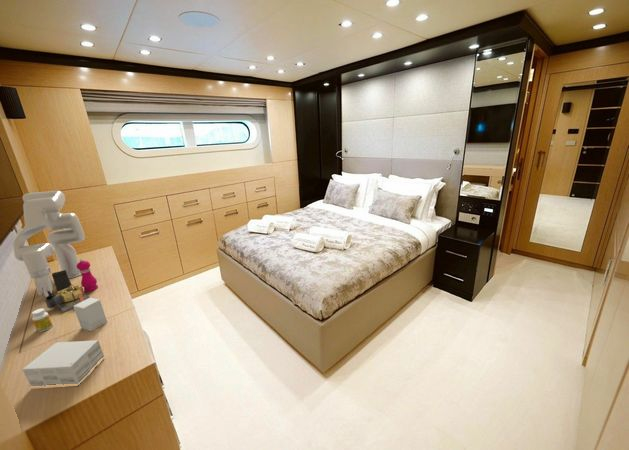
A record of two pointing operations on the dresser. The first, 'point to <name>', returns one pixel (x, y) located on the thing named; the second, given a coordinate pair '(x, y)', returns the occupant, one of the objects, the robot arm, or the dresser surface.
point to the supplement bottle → (41, 320)
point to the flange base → (72, 302)
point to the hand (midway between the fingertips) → (52, 302)
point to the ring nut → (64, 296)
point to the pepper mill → (87, 276)
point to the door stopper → (61, 280)
